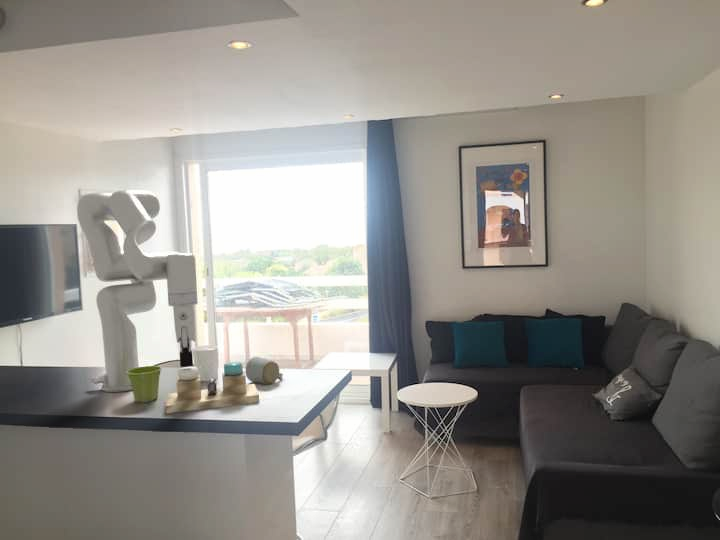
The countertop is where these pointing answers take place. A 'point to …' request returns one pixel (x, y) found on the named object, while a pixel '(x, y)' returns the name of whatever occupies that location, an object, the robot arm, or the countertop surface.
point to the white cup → (206, 361)
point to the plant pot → (145, 382)
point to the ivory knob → (188, 373)
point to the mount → (196, 398)
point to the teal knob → (233, 368)
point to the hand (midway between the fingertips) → (186, 366)
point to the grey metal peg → (212, 387)
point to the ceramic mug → (262, 370)
